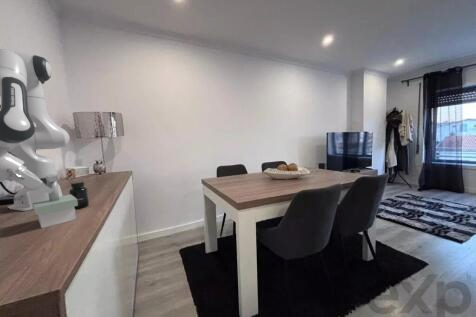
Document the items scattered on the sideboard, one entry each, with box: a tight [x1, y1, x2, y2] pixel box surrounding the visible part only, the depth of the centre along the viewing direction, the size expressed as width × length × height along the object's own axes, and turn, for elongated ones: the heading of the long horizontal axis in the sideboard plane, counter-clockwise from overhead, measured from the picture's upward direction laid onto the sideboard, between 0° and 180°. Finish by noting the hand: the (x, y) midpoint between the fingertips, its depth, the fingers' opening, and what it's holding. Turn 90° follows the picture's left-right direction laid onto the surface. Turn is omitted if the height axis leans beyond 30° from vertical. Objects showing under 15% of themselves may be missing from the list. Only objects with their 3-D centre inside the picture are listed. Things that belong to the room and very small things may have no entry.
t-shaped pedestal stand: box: [32, 174, 78, 216], centre depth 80 cm, size 12×12×13 cm
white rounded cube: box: [37, 207, 77, 229], centre depth 80 cm, size 10×10×7 cm
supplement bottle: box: [68, 181, 90, 210], centre depth 96 cm, size 7×7×12 cm
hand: (49, 190), depth 79 cm, fingers open, 8 cm apart
